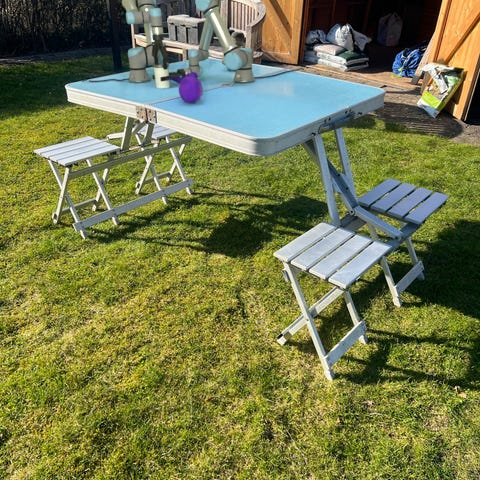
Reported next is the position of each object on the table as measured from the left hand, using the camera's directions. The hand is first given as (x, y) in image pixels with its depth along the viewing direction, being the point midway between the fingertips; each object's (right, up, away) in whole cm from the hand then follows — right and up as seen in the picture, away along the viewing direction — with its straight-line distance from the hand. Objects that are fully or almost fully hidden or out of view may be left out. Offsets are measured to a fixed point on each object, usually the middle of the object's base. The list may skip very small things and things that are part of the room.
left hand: (161, 68), depth 314 cm
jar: (0, -11, +6) cm, 13 cm away
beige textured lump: (+50, +21, +58) cm, 79 cm away
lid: (0, +2, -1) cm, 3 cm away
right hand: (-3, -7, +1) cm, 7 cm away
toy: (+23, -32, -31) cm, 50 cm away
